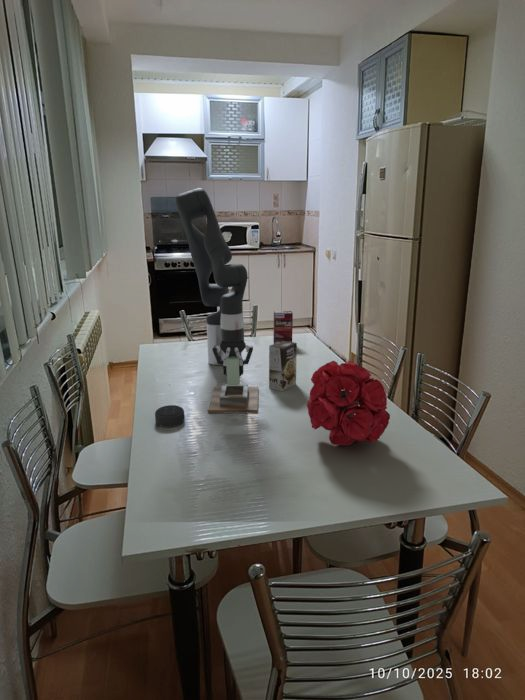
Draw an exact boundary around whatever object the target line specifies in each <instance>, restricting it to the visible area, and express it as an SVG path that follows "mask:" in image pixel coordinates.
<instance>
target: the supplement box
mask: <svg viewBox="0 0 525 700" xmlns="http://www.w3.org/2000/svg"><path fill="white" fill-rule="evenodd" d="M293 314H294V313H293V312H292V311H291V310H286V311H285V310H283V311H282V310H281V311H275V310H274V311H273V337H272V338H273V341H272V342H273V344H276V343H278V342H281V341H288V342H293V326H294V325H293V321H294V319H293V317H294V315H293Z"/></svg>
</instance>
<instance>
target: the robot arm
mask: <svg viewBox="0 0 525 700" xmlns="http://www.w3.org/2000/svg"><path fill="white" fill-rule="evenodd" d="M175 205H176V209H177V211H178V214H179V217H180V221H181V222H182V227H183V229H184V232H185V235H186V239H187V244H188V248H189V252H190V255H191V259H192V263H193V265H194V269H195V273H196V276H197V280H198V286H199V292H200V296H201V297H200V298H201V302H202V303H203V305H204V306H205V307H213V308H214V307H216V308H217V307H219V310H218V311H216V312H214V313H210V314H208V315H207V316H206V319H205V320H206V321H205V322H206V337H207V339H206V340H207V358H208V364H209V365H212V366H222V369H223V375H224V376H225V377H227V369H226V359H227V358H228V357H231V356H235V357H237V358H239V376H240V377H242V375H244V365H245V366H246V365H248V364H250V360H251V356H252V354H253V351H254V346H253V345H248V344H246V342H245V322H244V320H245V319H244V312H243V311H244V310H243V309H244V308H243V304H244V303H243V301H244V300H243V299H244V294H245V290H246V288H247V282H248V277H249V276H248V271H247V269H246V267H245V266H244V264H242V263H231V264H228V263H230V262H231V260H233V259H232V258H233V254H232V251H231V249H230V247H229V246H228V243H227V241H226V240H225V237H224V235H223V232H222V230H221V228H220V225H219V222H218V217H217V216H216V212H215V209H214V207H213V204H212V201H211V199H210V197H209V195H208V193H207V191H206V190H205V189H204V188H202V187H198V188H194V189H191V190H187V191H185V192H181V193H179V194H177V195H176V197H175ZM202 217H206V226H205V229H204V230H205V231H204V233H202V232H201V231H200V230H199V229H198V228H197V227H196V226H195V224H193V222H192V221H194V220H196V219H199V218H202ZM212 273H213V279H214V282H215V283H210V282H209V280H210V276H211V274H212ZM230 287H231V289H230V290H229V288H230ZM244 350H245V352H246V356H245V359H243V355H242V354H243V352H244Z"/></svg>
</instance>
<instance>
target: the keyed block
mask: <svg viewBox="0 0 525 700" xmlns="http://www.w3.org/2000/svg"><path fill="white" fill-rule="evenodd" d="M226 369H227V376H226V384H227V386H239V384H241V382H240V381H241V376H239V358H237V357H235V356H231V357H228V358H227V359H226Z"/></svg>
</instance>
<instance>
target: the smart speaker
mask: <svg viewBox="0 0 525 700" xmlns="http://www.w3.org/2000/svg"><path fill="white" fill-rule="evenodd" d="M154 418H155V419H154V422H155V423H156V424H157V425H158V426H160V427H165V428H172V427H177V426H179V425H181V424H182V423H183V422H184V421H185V418H186V417H185V410H184V408H183V407H182V406H180V405H174V404H173V405H172V404H170V405H164V406H161V407H158V408H157V409H156V410H155V411H154Z"/></svg>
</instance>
